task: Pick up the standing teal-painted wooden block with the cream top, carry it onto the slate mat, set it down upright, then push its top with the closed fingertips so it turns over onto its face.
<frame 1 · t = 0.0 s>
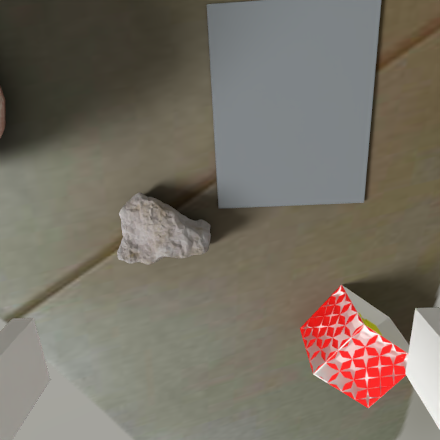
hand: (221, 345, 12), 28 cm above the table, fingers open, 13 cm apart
slate mat: (291, 111, 36), on the table
stone: (168, 225, 41), on the table
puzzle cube: (343, 321, 45), on the table
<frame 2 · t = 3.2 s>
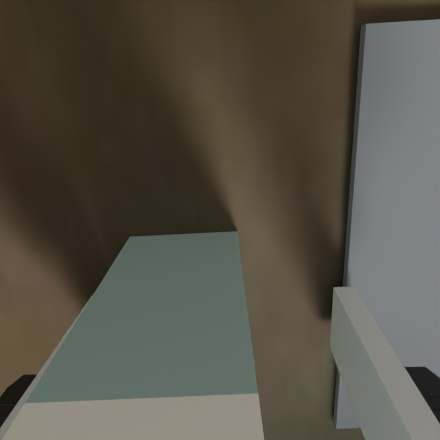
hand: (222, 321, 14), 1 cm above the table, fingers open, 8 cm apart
painted block: (191, 314, 14), on the table
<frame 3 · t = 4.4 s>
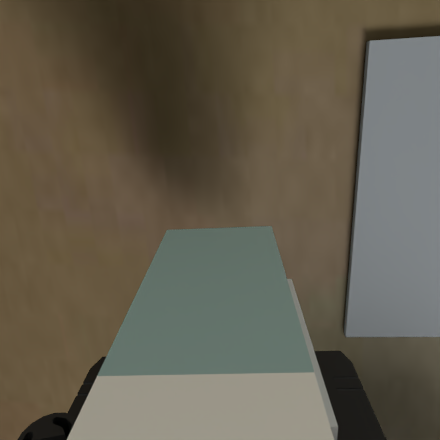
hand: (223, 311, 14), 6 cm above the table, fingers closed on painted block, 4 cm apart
painted block: (223, 306, 15), point 6 cm above the table, touching gripper
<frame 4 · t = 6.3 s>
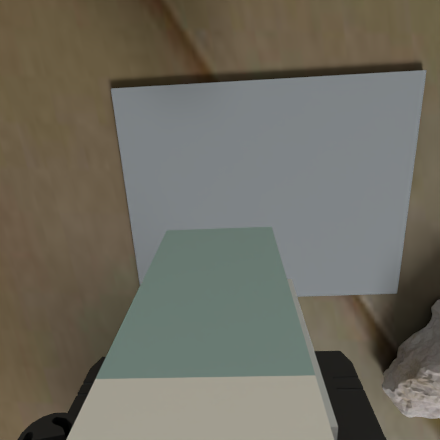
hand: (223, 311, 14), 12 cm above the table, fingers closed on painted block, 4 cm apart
slate mat: (266, 198, 26), on the table
stone: (430, 342, 30), on the table
painted block: (223, 307, 15), point 12 cm above the table, touching gripper
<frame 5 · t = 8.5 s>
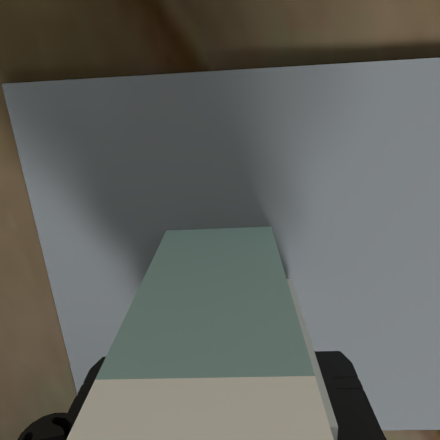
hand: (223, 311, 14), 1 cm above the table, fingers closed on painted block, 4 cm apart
slate mat: (294, 278, 15), on the table
painted block: (223, 307, 15), resting on slate mat, touching gripper
when the fingers open (1 cm above the table, at t = 8.5 s): painted block stays where it is, resting on slate mat.
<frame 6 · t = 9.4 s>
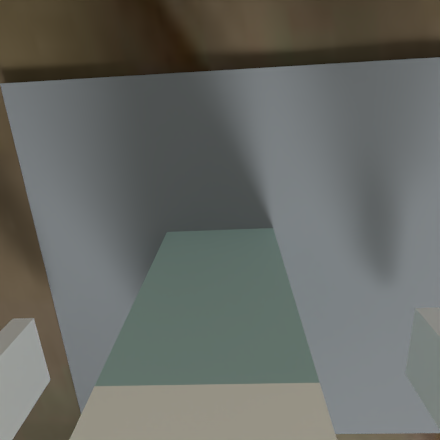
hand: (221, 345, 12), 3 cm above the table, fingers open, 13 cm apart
slate mat: (295, 280, 14), on the table
painted block: (224, 309, 14), resting on slate mat
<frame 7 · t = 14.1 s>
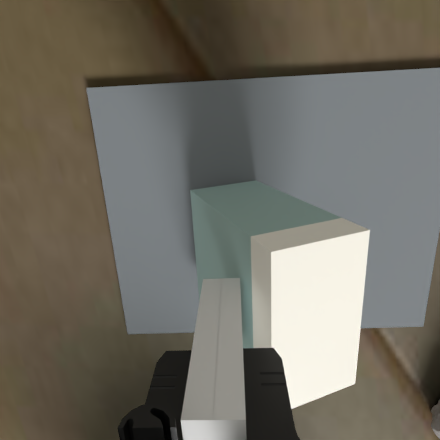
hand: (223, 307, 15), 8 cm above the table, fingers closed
slate mat: (271, 217, 22), on the table
painted block: (226, 242, 21), point 1 cm above the table, tilted 23°, touching slate mat
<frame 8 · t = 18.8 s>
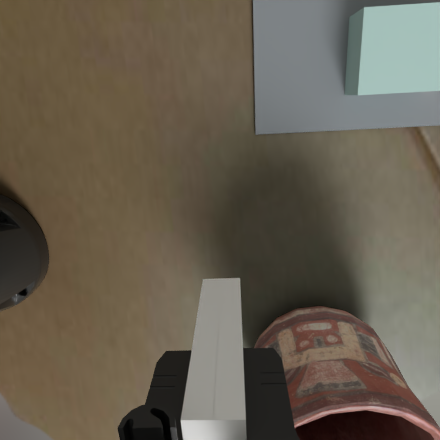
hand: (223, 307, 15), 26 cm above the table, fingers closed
slate mat: (356, 45, 35), on the table
painted block: (353, 55, 33), point 2 cm above the table, tilted 90°, touching slate mat
pottery: (309, 343, 47), on the table
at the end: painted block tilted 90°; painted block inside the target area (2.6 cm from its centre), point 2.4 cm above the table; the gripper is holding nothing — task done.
